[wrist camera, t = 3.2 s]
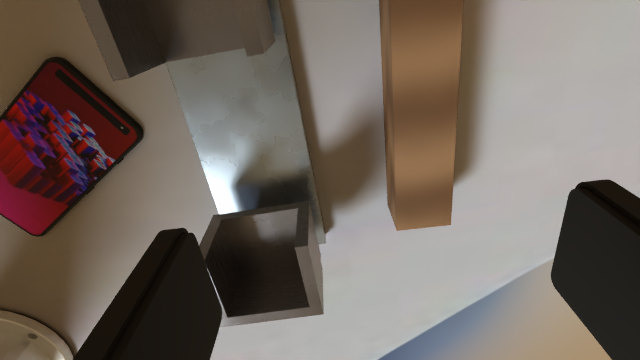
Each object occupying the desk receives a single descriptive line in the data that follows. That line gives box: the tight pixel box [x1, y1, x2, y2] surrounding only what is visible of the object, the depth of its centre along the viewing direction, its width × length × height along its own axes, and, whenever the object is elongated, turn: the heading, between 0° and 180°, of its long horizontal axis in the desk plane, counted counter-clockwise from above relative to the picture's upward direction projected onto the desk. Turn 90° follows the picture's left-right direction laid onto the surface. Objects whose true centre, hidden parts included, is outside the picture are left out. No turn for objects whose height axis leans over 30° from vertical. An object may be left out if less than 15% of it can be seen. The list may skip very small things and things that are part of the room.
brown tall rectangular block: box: [379, 0, 464, 231], centre depth 24 cm, size 18×4×4 cm, turn 7°
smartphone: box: [0, 57, 143, 236], centre depth 27 cm, size 8×1×15 cm
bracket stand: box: [79, 0, 326, 327], centre depth 22 cm, size 23×8×8 cm, turn 9°
